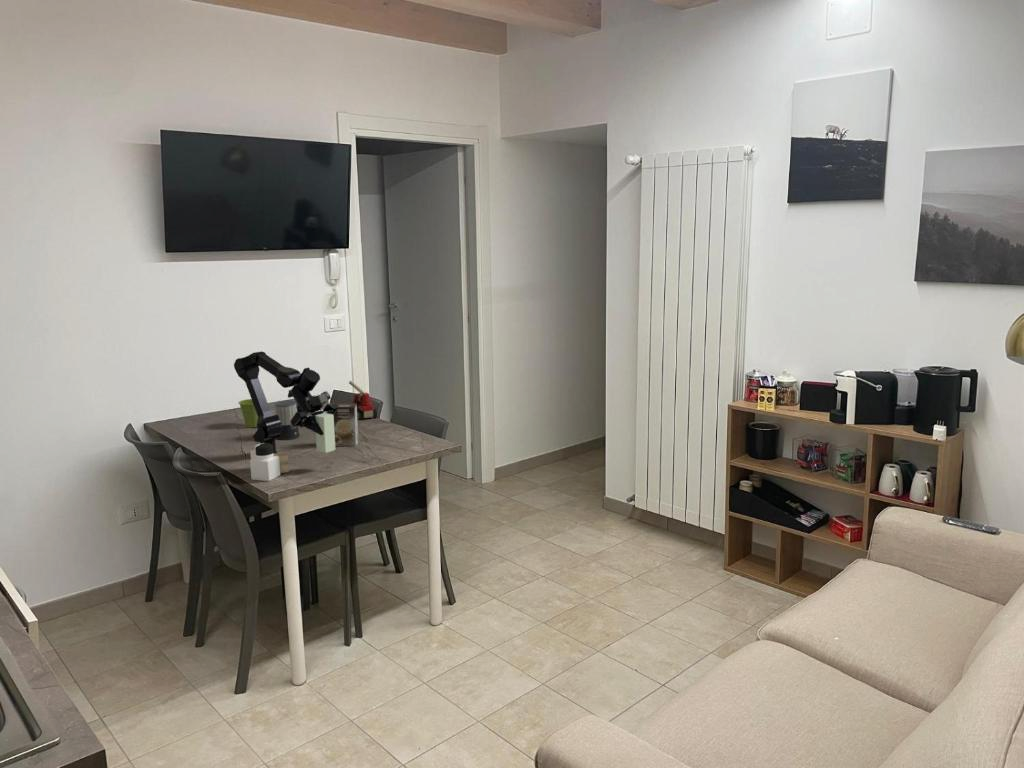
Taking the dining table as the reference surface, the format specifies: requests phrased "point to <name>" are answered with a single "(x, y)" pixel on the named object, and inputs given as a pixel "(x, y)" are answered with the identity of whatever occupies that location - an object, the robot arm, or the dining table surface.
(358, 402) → the toy fire truck
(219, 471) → the dining table surface
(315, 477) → the dining table surface
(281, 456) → the birch block
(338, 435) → the coffee box
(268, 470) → the medicine bottle
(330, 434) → the sage block
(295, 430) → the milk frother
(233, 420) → the dining table surface
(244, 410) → the plant pot
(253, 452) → the plastic canister
